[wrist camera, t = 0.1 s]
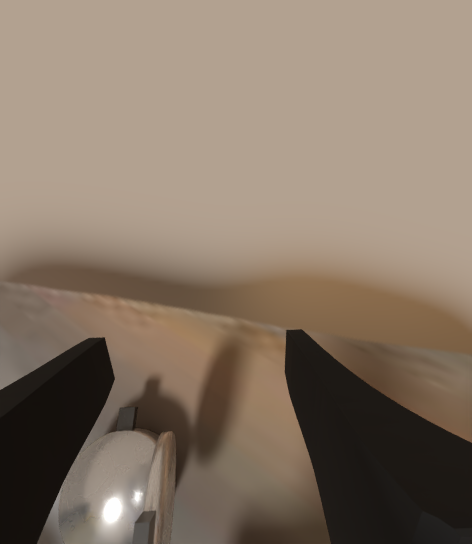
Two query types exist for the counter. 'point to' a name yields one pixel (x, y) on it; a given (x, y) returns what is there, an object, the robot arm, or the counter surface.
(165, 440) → the cooker lid
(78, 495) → the cooker pot
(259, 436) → the counter surface
